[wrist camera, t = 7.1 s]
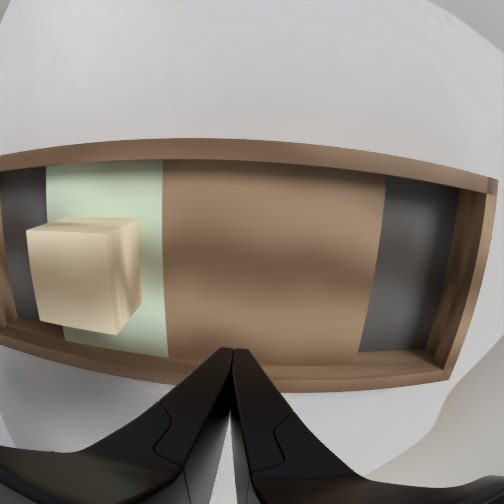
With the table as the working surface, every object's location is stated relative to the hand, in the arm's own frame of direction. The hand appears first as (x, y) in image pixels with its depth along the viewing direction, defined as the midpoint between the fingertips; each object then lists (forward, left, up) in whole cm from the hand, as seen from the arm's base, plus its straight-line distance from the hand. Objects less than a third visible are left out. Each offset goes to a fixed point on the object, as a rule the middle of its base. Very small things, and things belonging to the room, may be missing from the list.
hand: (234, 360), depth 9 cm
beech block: (0, +8, -8) cm, 12 cm away
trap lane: (0, +3, -10) cm, 11 cm away
